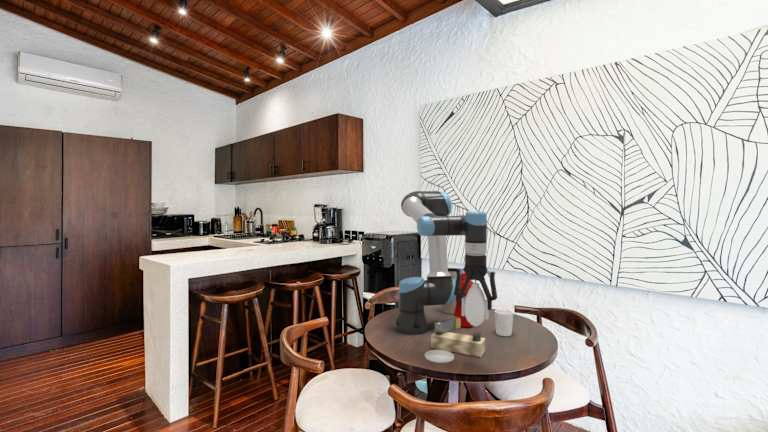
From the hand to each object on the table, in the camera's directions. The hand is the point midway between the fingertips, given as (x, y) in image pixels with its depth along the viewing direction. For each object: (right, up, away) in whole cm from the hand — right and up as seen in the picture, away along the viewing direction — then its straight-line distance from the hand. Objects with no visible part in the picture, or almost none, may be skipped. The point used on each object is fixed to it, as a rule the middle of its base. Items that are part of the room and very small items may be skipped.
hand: (475, 316), depth 134 cm
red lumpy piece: (+6, -16, +44) cm, 47 cm away
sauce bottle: (0, -3, 0) cm, 3 cm away
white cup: (+20, -16, +30) cm, 40 cm away
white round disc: (-12, -17, +6) cm, 21 cm away
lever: (-7, -11, +20) cm, 24 cm away
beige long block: (-4, -16, +13) cm, 21 cm away
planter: (+3, -15, +64) cm, 66 cm away
